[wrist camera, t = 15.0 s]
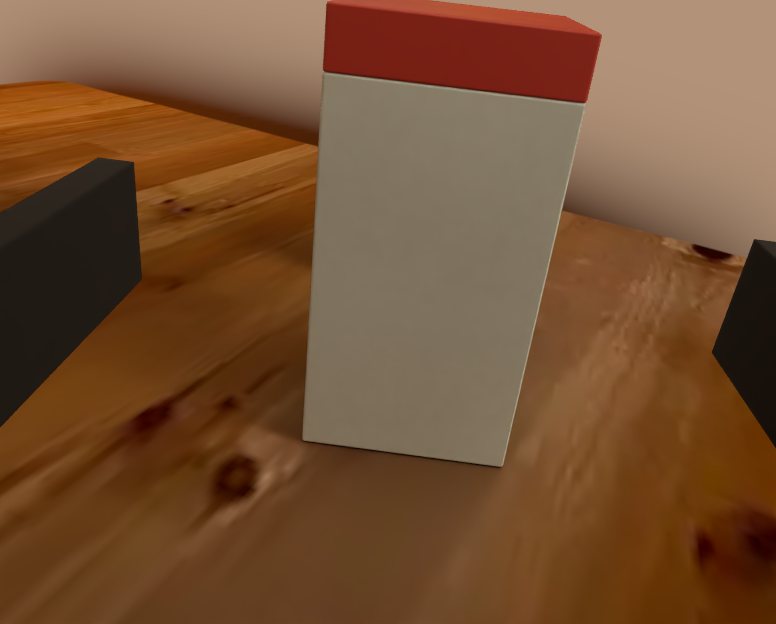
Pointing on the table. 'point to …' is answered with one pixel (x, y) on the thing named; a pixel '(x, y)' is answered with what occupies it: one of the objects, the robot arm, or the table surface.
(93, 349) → the table surface
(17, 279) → the robot arm
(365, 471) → the table surface
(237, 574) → the table surface
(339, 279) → the red-faced cream slab
